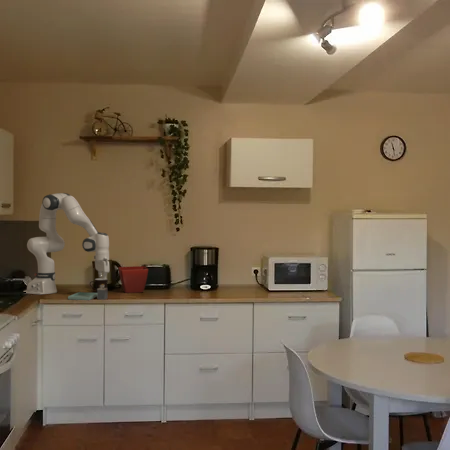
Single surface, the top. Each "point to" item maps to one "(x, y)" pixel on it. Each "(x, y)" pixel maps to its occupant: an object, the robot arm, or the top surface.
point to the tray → (82, 296)
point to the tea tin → (102, 293)
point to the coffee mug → (100, 283)
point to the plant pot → (133, 278)
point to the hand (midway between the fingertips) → (102, 278)
